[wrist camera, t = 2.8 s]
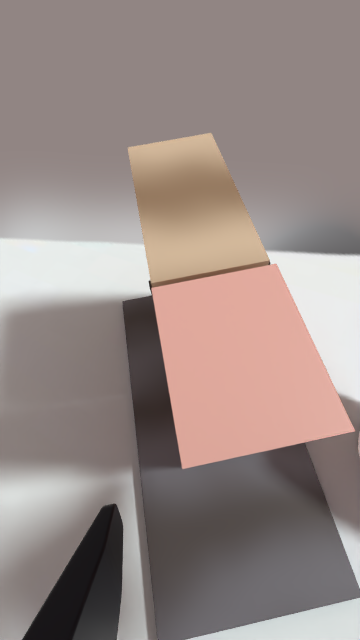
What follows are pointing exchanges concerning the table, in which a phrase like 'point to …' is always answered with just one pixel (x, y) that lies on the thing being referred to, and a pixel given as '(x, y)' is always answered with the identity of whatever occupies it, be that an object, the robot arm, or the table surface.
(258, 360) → the stub
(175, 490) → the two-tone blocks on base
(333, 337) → the table surface
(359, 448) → the drinking glass
